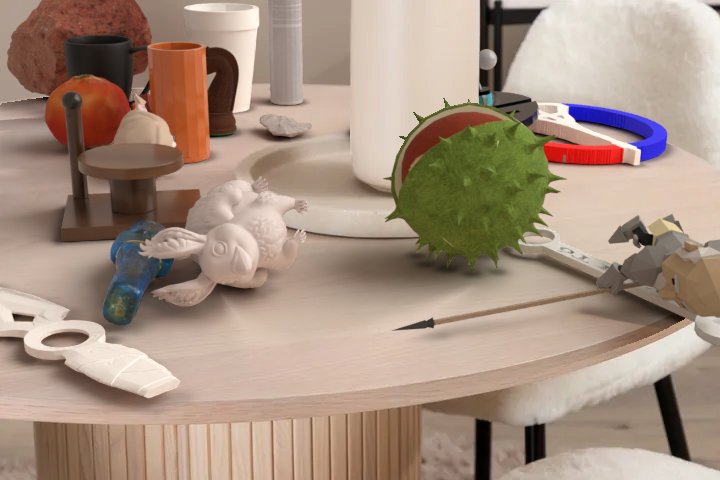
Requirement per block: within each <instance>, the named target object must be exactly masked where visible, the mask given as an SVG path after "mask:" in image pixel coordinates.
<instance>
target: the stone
mask: <svg viewBox="0 0 720 480" xmlns="http://www.w3.org/2000/svg"><path fill="white" fill-rule="evenodd" d="M258 121H259V124H260V125H261V126H262V127H264V128H266V130H268V131H269V133H271V134H272V136H274V137H275V136H281V137H286V138H287V137H288V138H294V137H297V136H300V135H302V134H305V133H306V132H308V131H309V130H311V129H312V128H313V124H312V123H311V122H310V123H309V122H298V121H297V120H296V119H295V118H291V117H287V116H283V115H278V114H274V113H268V114H263V115H261V116H260V117H259V120H258Z"/></svg>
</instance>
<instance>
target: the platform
mask: <svg viewBox="0 0 720 480" xmlns="http://www.w3.org/2000/svg"><path fill="white" fill-rule="evenodd" d="M537 103H538V102H537V101H536V100H534V101H532V98H531V97H530V96H528V95H527V96H526V95H524V94H520V93H514V92H508V91H507V92H506V91H495V90H493V91H492V88H491V87H490V86H482V84H481V82H480V81H479V104H484V105H491V106H493V107H495V108H497V109H499V110H501V111H503V112H505V113H507V114H511V113H512V112H513V111H515V110H516V111H515V113H514V115H513V118H515V119H516V120H518V121H519V122H521V123H522V124H523V125H525V126H526V127H528V126H530V125H532V124H533V123H534V122H535V121H536V120H537V119H538V115H539V109H538V104H537Z"/></svg>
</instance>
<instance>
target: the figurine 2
mask: <svg viewBox="0 0 720 480" xmlns="http://www.w3.org/2000/svg"><path fill="white" fill-rule="evenodd" d="M266 179H267V177H265V178H263V176H262V175H261V176H260V175H259V176H258V177H257V179H256V180H255V181H254V182H253V183H252V184H251V183H249V182H248V181H246V180H244V179H232V180H229V181H225V182H223V183H222V184H220V185H219V186H215V187H212V188H211V189H209V190H208V192H207V193H206V195H205V194H202V195H201V197H200V199H199V200H198V201H196V203H195V205H194V206H193V208H190V209H189V211H188V216H187V222H186V226H185V229H183V228H178V227H172V228H167V229H164V230H162V231H160V232H159V233H157V234H156V235H155V236H154V238H151V241H149V240H147V239H146V241H145V243H146V245H147V246H144V245H142V244H141V243H140V248H141V250H143V251H145V252H138V253H139V254H140V255H142V256H149V257H148V258H150V257H154V258H155V257H156V258H160V259H167V258H175V259H176V258H181V257H185V256H188V255H189V256H190V257H191V258H192V260H193V261H194V262H195V263H196V264H197V265H199V268H200V270H201V271H200V273H199V275H198V276H197V278H194V279H191V280H187V281H183V282H180V283H173V284H168V285H165V286H163V287H161V288H156V289H154V290H152V291H150V294H152V297H153V298H156V297H158V299H159V301H162V300H164V301H165V302H168V303H169V304H172V305H174V306H178V307H193V306H195V305H198V304H199V303H201V302H203V301H204V300H205V299H206V298H207V297H208V296H209V295H210V294H211V293H212V291H214V288H215V287H216V286H217V285H218V284H221V285H225V286H228V287H235V288H238V289H239V288H240V289H249V288H251V289H257V288H259V287H261V286H263V285H264V284H265V283H266V282H267V280H268V277H269V273H268V271H267V269H272V270H284V269H287V268H289V267H291V266H292V265H293V264H294V263H295V262H296V260H297V259H298V255H299V252H300V251H299V245H302V244H304V243H305V242H306V241H307V234H306V233H307V231H305V228H302V229H301V231H300V228H298V229H296V231H295V232H294V234H293V235H292V237H291V239H288V228H287V225H286V221H284V218H283V216H284V215H286V213H287V212H289V211H291V210H295V211H296V212H297V213H298V214H300V215H301V216H304V212H309V210H308V208H309V206H308V202H307V201H306V199H305V198H302V199H295V198H294V197H292V196H288V195H281V194H275V193H272V192H269V191H268V190H269V189H270V187H268V185H269V182H267V181H266Z"/></svg>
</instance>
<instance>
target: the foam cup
mask: <svg viewBox="0 0 720 480" xmlns="http://www.w3.org/2000/svg"><path fill="white" fill-rule="evenodd" d="M183 22H184V23H183V24H184V28H185V29H186V33H187V39H188V42H193V43H200V44H203V45H205V48H206V47H207V46H208V47H210V48H212V47H220V48H224V49H226V50H228V51H230V52H231V53H232V54H233V55H234V57H235V58H236V60H237V63H238V67H239V80H238V86H237V92H236V97H235V103H234V109H233V112H232V113H233V114H236V113H243V112H246V111H248V110H250V108H251V107H250V105H251V101H252V99H251V98H252V88H253V78H254V68H255V59H256V48H257V40H258V39H257V37H258V28H259V27H260V8H259V6H257V5H254V4H247V3H238V2H235V3H234V2H205V3H195V4H189V5H186V6H184V7H183ZM206 58H207V57H206ZM215 75H216V72H214V73H212V74H209V75H207V90H208V88H209V86H210V84H211V82H212V80H213V79H214V77H215Z"/></svg>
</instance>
